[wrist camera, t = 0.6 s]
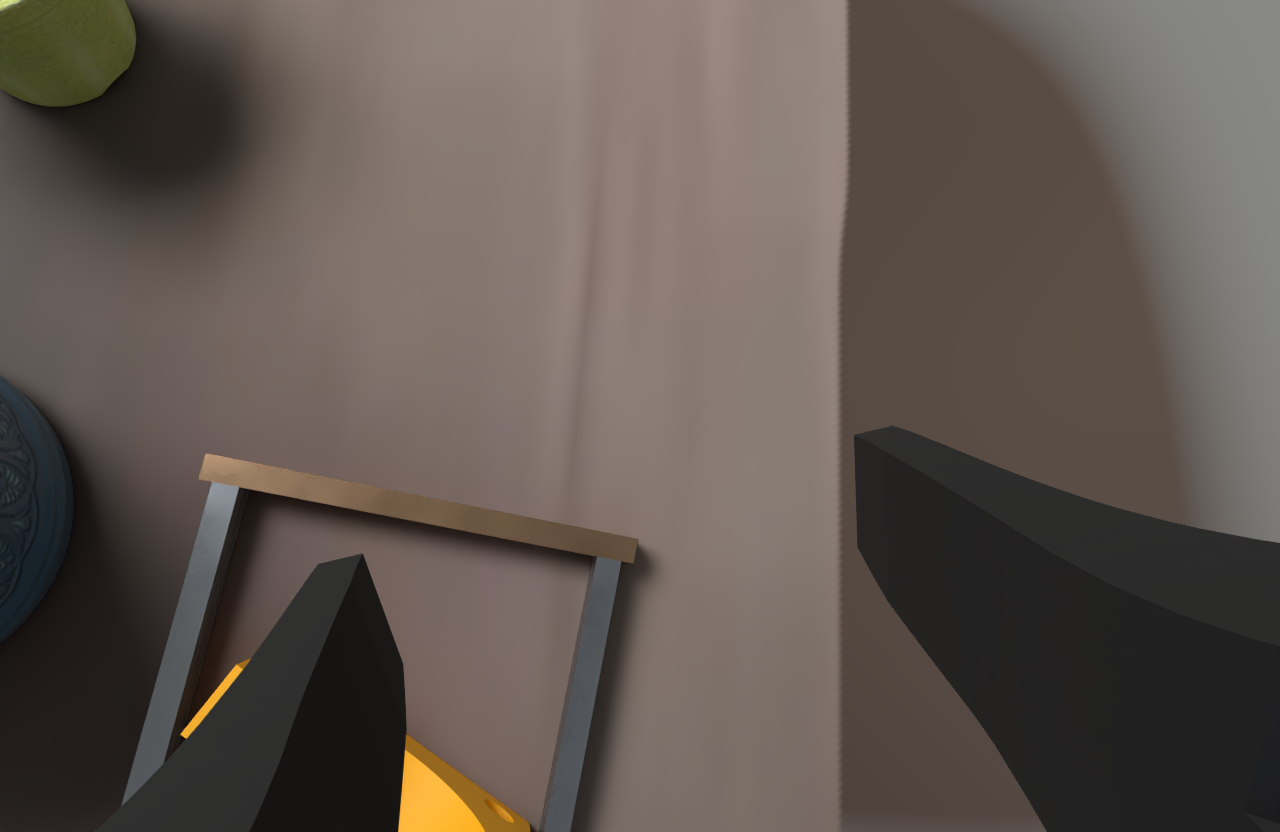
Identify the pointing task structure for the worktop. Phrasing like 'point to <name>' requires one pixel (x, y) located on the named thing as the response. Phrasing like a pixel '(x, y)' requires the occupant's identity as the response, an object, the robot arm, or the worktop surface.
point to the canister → (30, 507)
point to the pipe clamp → (424, 788)
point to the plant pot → (63, 48)
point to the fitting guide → (243, 476)
